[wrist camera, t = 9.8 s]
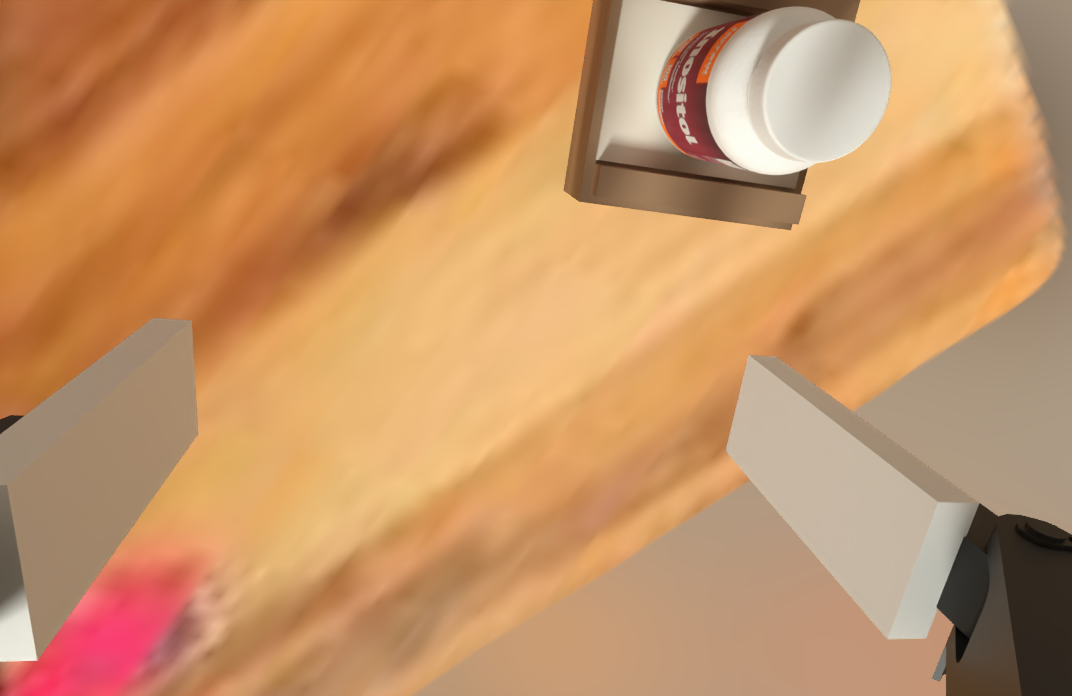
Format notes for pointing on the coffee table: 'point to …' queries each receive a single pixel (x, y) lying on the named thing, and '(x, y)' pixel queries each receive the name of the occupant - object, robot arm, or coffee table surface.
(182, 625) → the coffee table surface
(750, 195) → the brown square open box
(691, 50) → the pill bottle
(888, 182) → the coffee table surface
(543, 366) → the coffee table surface
